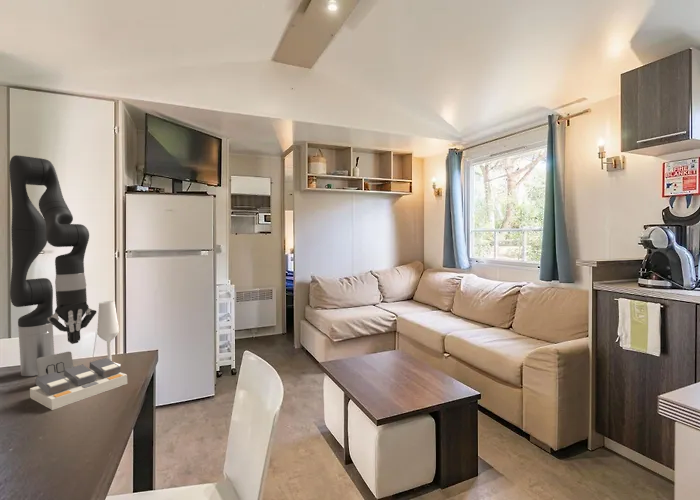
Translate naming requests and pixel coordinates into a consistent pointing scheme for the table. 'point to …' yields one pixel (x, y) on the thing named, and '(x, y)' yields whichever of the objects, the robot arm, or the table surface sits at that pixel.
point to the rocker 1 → (52, 383)
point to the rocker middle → (80, 375)
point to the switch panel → (77, 391)
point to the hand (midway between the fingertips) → (74, 342)
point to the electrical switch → (54, 364)
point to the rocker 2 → (104, 367)
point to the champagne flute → (107, 324)
